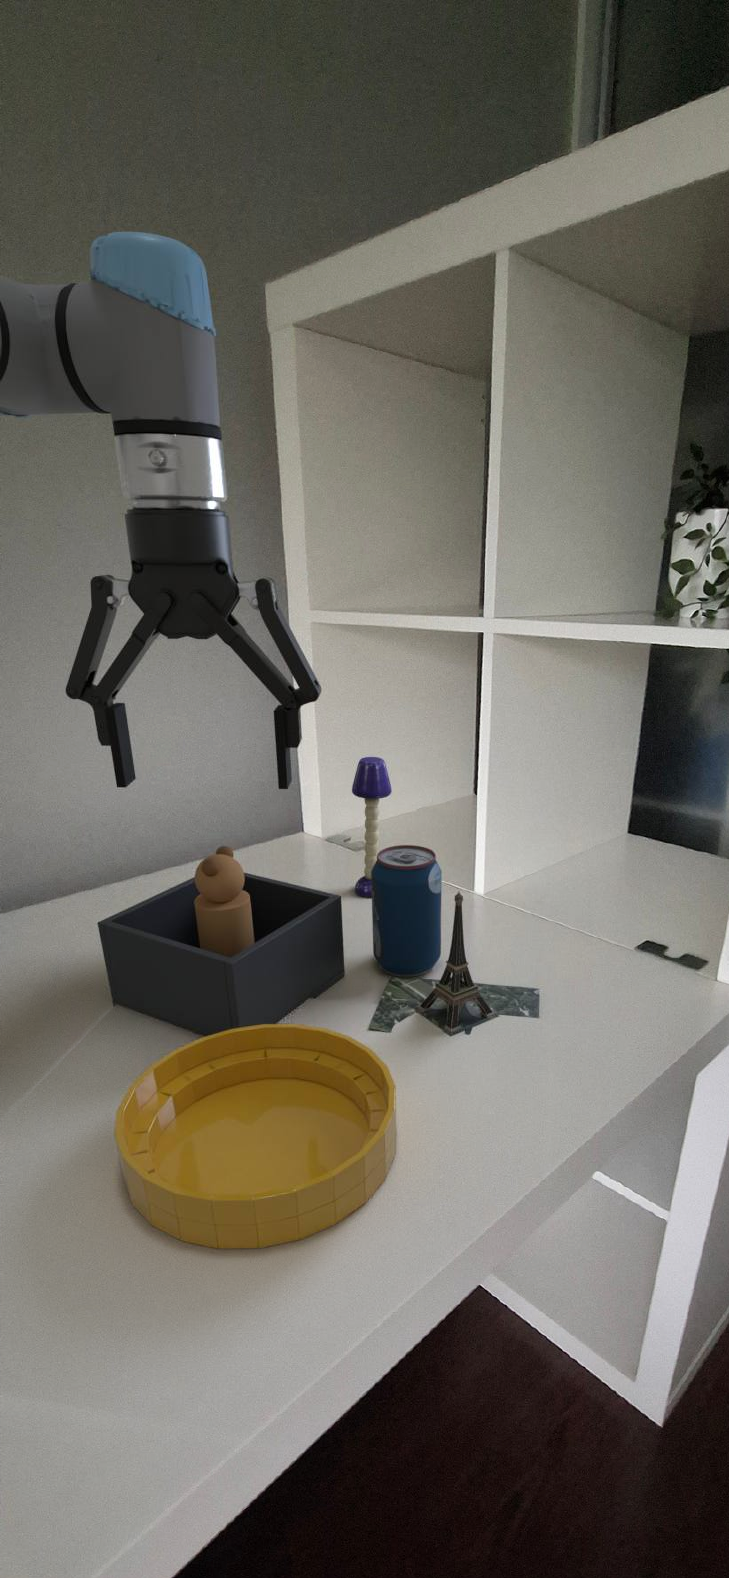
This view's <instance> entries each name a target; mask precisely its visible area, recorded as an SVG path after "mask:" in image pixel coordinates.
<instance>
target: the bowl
mask: <svg viewBox="0 0 729 1578" xmlns="http://www.w3.org/2000/svg"><path fill="white" fill-rule="evenodd" d="M114 1140H115V1144H116V1145H115V1146H116V1150H117V1154H118V1159H119V1163H120V1168H121V1174H122V1178H123V1182H124V1185H125V1188H126V1191H127V1193H128V1196H129V1199H130V1202H131V1205H132V1206H133V1207H134V1209H136V1210H137V1211H138V1212H139V1213H140V1215H142V1216H143V1218H144V1219H145V1220H146V1221H147V1222H148V1223H149V1224H150V1225H151V1226H153V1227H154V1228H156V1229H158V1230H160V1231H162V1232H164V1233H166V1234H168V1235H169V1236H172V1237H174V1238H176V1239H177V1240H179V1241H182V1242H186V1243H188V1244H189V1243H190V1244H194V1245H199V1246H203V1247H208V1248H212V1249H221V1250H223V1249H224V1250H225V1249H226V1250H227V1249H230V1250H231V1249H234V1250H235V1249H237V1250H239V1249H263V1248H268V1247H272V1246H276V1245H281V1244H286V1243H290V1242H295V1241H299V1240H302V1239H305V1238H307V1237H310V1236H311V1235H314V1234H317V1233H319V1232H321V1231H323V1230H326V1229H327V1228H330V1227H332V1226H335V1225H336V1224H339V1222H341V1221H342V1220H343V1219H345V1218H346V1217H348V1216H349V1215H351V1214H352V1213H353V1212H354V1211H356V1210H357V1209H359V1208H360V1207H362V1206H363V1205H364V1204H366V1203H367V1202H368V1201H369V1200H370V1198H371V1197H372V1196H373V1195H374V1193H375V1192H376V1191H377V1190H378V1189H379V1188H380V1186H381V1185H382V1184H383V1183H384V1181H385V1180H386V1178H387V1176H388V1174H389V1171H390V1169H391V1167H392V1164H393V1162H394V1159H395V1157H396V1154H397V1088H396V1084H395V1082H394V1079H393V1077H392V1074H391V1072H390V1069H389V1067H388V1066H387V1064H386V1063H385V1062H384V1061H383V1060H382V1059H381V1058H380V1057H379V1056H378V1055H377V1053H375V1051H373V1049H371V1048H370V1047H368V1046H366V1045H365V1044H363V1043H361V1042H359V1041H358V1040H357V1039H355V1038H353V1037H351V1036H349V1035H346V1034H343V1033H341V1032H337V1031H334V1030H331V1029H328V1028H325V1027H318V1026H312V1025H305V1024H299V1023H298V1024H297V1023H276V1024H262V1025H255V1026H248V1027H241V1028H234V1029H230V1030H226V1031H223V1032H219V1033H216V1034H213V1035H209V1036H206V1037H204V1036H202V1037H200V1038H198V1039H195V1040H194V1041H191V1042H189V1043H187V1044H184V1045H183V1046H181V1047H178V1048H176V1049H174V1050H172V1051H170V1052H169V1053H167V1054H166V1055H164V1056H163V1057H161V1058H160V1059H159V1060H158V1061H156V1062H154V1063H153V1064H151V1065H150V1066H148V1068H146V1069H145V1070H144V1071H143V1072H142V1073H141V1074H140V1075H139V1077H138V1078H137V1079H136V1080H135V1081H134V1082H133V1083H132V1084H131V1085H130V1086H129V1087H128V1088H127V1091H126V1093H125V1094H124V1097H123V1099H122V1100H121V1102H120V1104H119V1106H118V1108H117V1110H116V1113H115V1125H114Z"/></svg>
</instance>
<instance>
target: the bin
mask: <svg viewBox="0 0 729 1578" xmlns="http://www.w3.org/2000/svg"><path fill="white" fill-rule="evenodd" d="M244 876H245V881H244V886H243V888H242V890H243V891H246V892H247V893H248V894H249V895H250V902H251V912H252V922H253V932H254V942H255V943H254V944H253V945H251V946H249V947H248V948H246V949H244V950H243V951H241V952H240V953H238V954H236V955H235V956H233V957H231V958H229V957H226V956H223V955H220V954H216V953H213V952H210V951H206V950H203V949H200V942H199V934H198V927H197V919H196V912H195V904H194V901H195V898H196V897H197V896H199V895H200V892H199V891H198V889H197V887H196V884H195V876H193V877H192V878H189V879H187V880H185V881H182V882H181V883H179V884H176V885H174V886H172V887H170V888H168V889H166V890H163V891H161V892H159V893H157V894H155V895H153V896H151V897H149V898H147V899H145V900H142V901H140V902H138V903H136V904H134V905H132V906H129V907H128V908H125V909H123V910H121V911H119V912H117V913H114V914H113V915H110V916H108V917H106V918H104V919H101V920H100V921H97V923H96V924H97V928H98V933H99V934H98V935H99V938H100V944H101V949H102V954H103V959H104V964H105V969H106V974H107V981H108V985H109V990H110V996H111V1000H112V1006H113V1007H115V1006H116V1005H118V1006H120V1007H123V1008H126V1009H128V1010H131V1011H134V1012H137V1013H139V1014H141V1015H145V1016H147V1017H151V1018H153V1019H156V1020H158V1021H161V1022H164V1023H167V1024H169V1025H171V1026H175V1027H177V1028H179V1029H183V1030H186V1031H188V1032H191V1033H194V1034H197V1035H199V1036H202V1037H206V1036H209V1035H213V1034H216V1033H219V1032H223V1031H226V1030H230V1029H234V1028H241V1027H248V1026H255V1025H262V1024H279V1022H281V1021H282V1020H283V1019H284V1018H286V1017H287V1016H289V1015H290V1014H292V1012H294V1011H295V1010H296V1009H298V1008H299V1007H300V1006H301V1005H303V1004H304V1003H306V1002H307V1001H308V1000H310V999H316V998H317V997H319V996H320V995H321V994H323V993H324V992H325V991H326V990H328V989H329V988H330V987H332V986H333V985H334V984H336V983H337V982H339V981H340V980H341V979H343V977H345V976H346V972H345V951H344V950H345V948H344V929H343V928H344V927H343V909H342V908H343V907H342V906H343V905H342V896H341V895H339V894H335V893H331V892H327V891H323V890H319V889H315V888H310V887H306V886H302V885H297V884H293V883H288V882H286V881H282V880H277V879H273V878H269V877H265V876H262V875H257V874H252V873H248V872H244Z"/></svg>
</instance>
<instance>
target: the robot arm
mask: <svg viewBox="0 0 729 1578" xmlns="http://www.w3.org/2000/svg"><path fill="white" fill-rule="evenodd" d="M89 255H90V256H89V257H90V268H89V275H90V276H89V278H90V280H84V281H80V282H73V283H59V284H58V283H57V284H51V283H50V284H31V283H30V284H29V283H23V282H18V281H17V280H13V279H11V278H9V277H6V276H4V275H1V274H0V415H1V416H12V417H16V418H18V419H21V418H28V417H29V418H30V417H31V416H35V415H39V416H40V415H63V414H64V415H65V414H66V415H67V414H93V413H94V414H95V413H96V414H110V417H111V420H112V421H111V423H112V428H113V429H112V430H113V436H114V437H113V438H114V445H115V453H116V459H117V466H118V474H119V481H120V487H121V495H122V497H123V498H124V499H125V500H128V501H131V505H132V506H131V507H132V508H128V509H126V513H124V519H125V520H124V521H125V528H126V535H127V543H128V551H129V558H130V559H129V561H130V563H131V575H130V579H123V578H117V577H116V578H115V576H113V575H112V574H102V575H101V574H100V575H95V576H93V577H92V578H91V579H90V583H89V584H90V602H91V603H90V606H91V607H90V610H89V614H88V617H87V620H86V623H85V626H84V629H83V632H82V636H81V639H80V642H79V645H78V648H77V652H76V655H75V657H74V661H73V663H72V667H71V671H70V673H69V676H68V680H67V683H66V686H65V694H66V696H67V697H68V698H69V699H71V700H79V701H82V702H85V703H87V704H89V706H90V707H92V710H93V711H92V712H93V715H94V716H93V717H94V722H95V728H96V735H97V740H98V743H99V744H100V745H101V747H110V752H111V753H110V754H111V757H112V764H113V765H112V766H113V772H114V777H115V783H116V788H127V787H128V786H130V785H131V784H132V783H133V782H134V781H135V780H136V779H137V777H136V771H135V763H134V758H133V757H134V756H133V750H132V744H131V736H130V730H129V722H128V715H127V709H126V703H125V702H114V701H115V700H116V699H117V696H118V694H119V692H120V691H121V689H122V688H123V687H124V685H125V684H126V682H127V681H128V680H129V678H130V677H131V675H132V674H133V672H134V671H135V670H136V668H137V667H138V665H139V663H140V662H141V661H142V659H143V658H144V656H145V655H146V654H147V652H148V651H149V649H151V648H150V647H152V645H153V643H154V642H155V641H156V640H157V639H158V638H159V636H160V635H162V636H164V637H166V638H167V640H179V639H182V638H185V637H188V638H191V639H195V640H209V639H211V638H213V637H215V636H218V637H219V638H220V639H221V641H222V642H223V643H224V644H225V645H227V646H228V647H230V649H231V650H232V651H233V652H234V653H235V655H237V656H238V657H239V659H240V660H241V661H242V662H243V664H245V665H246V667H247V668H248V669H249V670H250V671H251V672H252V674H254V676H255V677H256V678H257V679H258V680H259V681H260V682H261V683H262V685H263V686H264V687H265V688H266V689H267V691H269V693H270V694H271V695H272V696H273V697H274V698H275V699H276V700H277V701H278V703H279V704H278V705H276V707H275V709H273V724H274V725H273V726H274V739H275V740H274V741H275V754H276V755H275V756H276V769H277V770H276V771H277V785H278V790H289V787H290V785H291V783H292V781H293V777H292V760H291V759H292V758H291V749H298V748H299V746H300V745H301V742H302V739H303V734H302V733H303V732H302V716H301V709H302V707H303V706H304V705H307V704H310V703H314V702H316V701H317V700H319V698H320V695H321V693H322V687H321V684H320V682H319V679H318V678H317V676H316V675H315V672H314V671H313V668H312V667H311V665H310V662H309V661H308V659H307V657H306V655H305V653H304V652H303V650H302V648H301V645H300V644H299V642H298V640H297V638H296V636H295V634H294V632H293V631H292V629H291V627H290V625H289V623H288V621H287V619H286V616H285V615H284V613H283V611H282V610H281V608H280V604H279V598H278V591H277V586H276V582H275V580H274V579H273V578H271V577H270V576H265V577H262V578H259V579H257V580H249V581H239V580H238V578H237V576H236V574H235V571H234V564H233V563H234V562H233V552H232V551H233V550H232V540H231V539H232V538H231V528H230V516H229V515H227V513H226V510H225V511H224V510H221V503H225V502H226V501H227V500H228V488H227V477H226V465H225V454H224V443H223V437H222V429H221V420H220V419H221V415H220V403H219V401H220V400H219V387H218V373H217V360H216V359H217V358H216V357H217V356H216V344H215V342H216V341H215V337H217V331H216V328H215V326H214V322H213V321H214V320H213V314H212V313H213V312H212V305H211V298H210V292H209V291H210V290H209V284H208V283H209V282H208V275H207V270H206V268H205V267H206V266H205V263H204V262H203V260H202V258H201V257H200V256H199V254H198V253H197V252H196V251H195V250H194V249H193V248H191V247H189V246H188V245H186V244H185V243H184V242H181V241H179V240H177V239H174V238H172V237H168V236H164V235H160V234H155V233H149V232H141V231H115V232H114V231H113V232H109V233H108V234H107V235H102V236H98V237H97V238H95V239H94V240H93V241H92V243H91V245H90V251H89ZM128 596H129V597H130V599H131V600H132V601H133V603H134V604H135V605H136V607H137V608H139V610H140V611H141V613H143V615H142V616H141V618H140V620H139V621H138V622H137V624H136V625H135V627H134V628H133V630H132V632H131V635H130V636H129V638H128V639H127V641H126V642H125V644H124V645H123V647H122V648H121V650H120V651H119V652H118V654H117V655H116V657H115V658H114V659H113V661H112V663H111V665H110V666H109V667H108V669H107V670H106V672H105V673H104V675H103V676H102V677H101V679H100V680H99V682H98V683H97V684H94V682H95V679H96V676H97V675H98V671H99V667H100V664H101V662H102V658H103V655H104V653H105V650H106V646H107V643H108V640H109V637H110V634H111V631H112V627H113V625H114V622H115V619H116V615H117V612H118V608H119V607H122V606H123V605H124V604H125V601H126V598H127V597H128ZM241 598H245V599H246V600H247V601H248V604H249V605H250V607H251V608H252V609H253V610H256V611H258V610H259V613H260V616H261V619H262V622H263V624H264V625H265V627H266V629H267V631H268V632H269V634H270V636H271V638H272V640H273V642H274V644H275V646H276V647H277V650H278V651H279V653H280V655H281V657H282V658H283V661H284V662H285V664H286V666H287V668H288V670H289V671H290V673H291V675H292V677H293V679H294V681H295V683H296V685H297V687H298V688H296V687H294V686H293V684H292V683H291V682H290V681H289V680H288V679H287V678H286V677H285V675H284V674H283V673H282V672H281V671H280V670H279V668H278V667H277V666H276V665H275V664H274V662H273V661H272V660H271V659H270V658H269V657H268V656H267V654H266V653H265V652H264V651H263V650H262V649H261V648H260V646H259V645H258V644H257V643H256V642H255V641H254V639H252V637H251V635H249V634H248V633H247V631H246V629H245V627H244V626H243V625H242V624H241V622H240V621H239V620H238V619H237V618H236V617H235V616H234V615H233V614H232V613H233V612H234V611H235V608H236V607H237V605H238V603H239V601H240V600H241Z"/></svg>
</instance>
